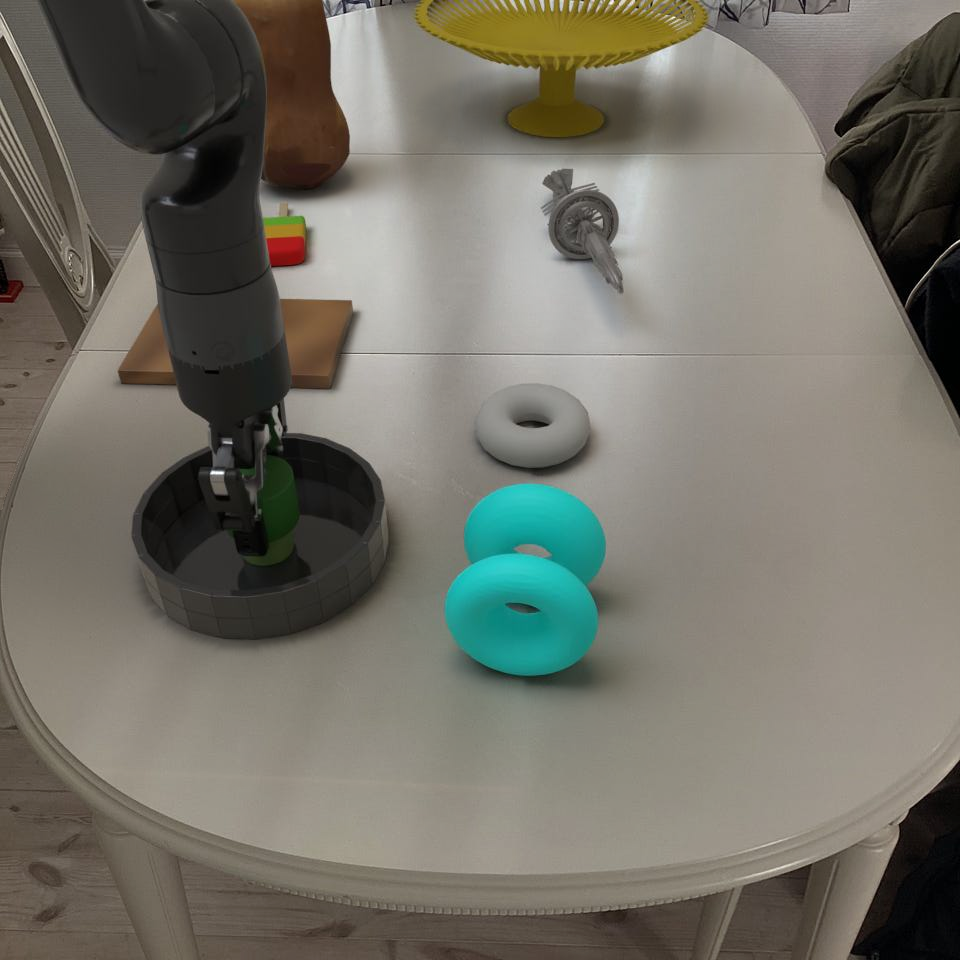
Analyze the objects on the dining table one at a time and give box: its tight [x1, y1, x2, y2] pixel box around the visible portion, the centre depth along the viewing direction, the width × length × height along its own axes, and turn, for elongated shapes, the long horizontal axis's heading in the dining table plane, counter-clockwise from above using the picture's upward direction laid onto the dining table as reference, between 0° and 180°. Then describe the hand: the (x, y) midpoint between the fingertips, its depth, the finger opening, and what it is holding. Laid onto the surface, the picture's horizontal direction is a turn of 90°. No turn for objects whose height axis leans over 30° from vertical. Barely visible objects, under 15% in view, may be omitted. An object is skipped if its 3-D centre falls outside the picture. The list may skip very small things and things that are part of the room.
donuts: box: [444, 483, 607, 677], centre depth 69 cm, size 10×10×10 cm
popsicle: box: [263, 201, 307, 267], centre depth 119 cm, size 6×15×2 cm, turn 6°
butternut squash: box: [232, 0, 351, 191], centre depth 123 cm, size 14×13×25 cm
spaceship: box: [540, 168, 624, 295], centre depth 112 cm, size 8×35×8 cm
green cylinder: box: [226, 455, 300, 566], centre depth 76 cm, size 6×6×7 cm
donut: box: [474, 382, 592, 469], centre depth 88 cm, size 10×3×10 cm
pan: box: [130, 432, 390, 640], centre depth 77 cm, size 18×18×4 cm
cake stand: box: [412, 0, 711, 138], centre depth 143 cm, size 40×40×15 cm
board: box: [117, 298, 354, 390], centre depth 100 cm, size 20×14×2 cm
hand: (263, 523), depth 76 cm, fingers closed on green cylinder, 5 cm apart
